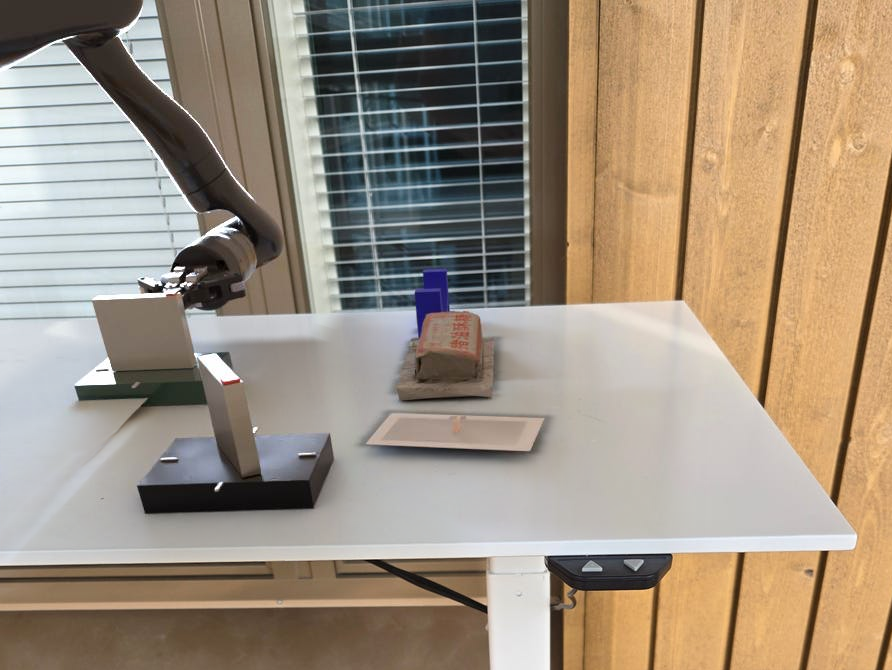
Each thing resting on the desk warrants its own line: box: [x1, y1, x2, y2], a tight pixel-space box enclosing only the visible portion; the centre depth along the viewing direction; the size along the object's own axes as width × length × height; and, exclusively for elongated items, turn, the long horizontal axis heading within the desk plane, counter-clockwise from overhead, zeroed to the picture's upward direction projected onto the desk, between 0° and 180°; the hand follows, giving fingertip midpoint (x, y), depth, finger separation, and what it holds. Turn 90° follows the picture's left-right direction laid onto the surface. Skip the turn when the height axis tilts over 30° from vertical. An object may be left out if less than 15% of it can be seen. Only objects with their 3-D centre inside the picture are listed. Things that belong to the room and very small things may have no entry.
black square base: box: [136, 426, 335, 514], centre depth 75 cm, size 14×13×3 cm
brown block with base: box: [395, 310, 495, 401], centre depth 97 cm, size 18×5×10 cm
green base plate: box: [73, 351, 235, 407], centre depth 97 cm, size 14×13×3 cm
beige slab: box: [91, 291, 197, 371], centre depth 95 cm, size 9×2×8 cm, turn 88°
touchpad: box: [365, 412, 545, 452], centre depth 81 cm, size 8×15×2 cm, turn 77°
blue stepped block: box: [414, 268, 456, 338], centre depth 111 cm, size 12×4×6 cm, turn 178°
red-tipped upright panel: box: [197, 352, 261, 478], centre depth 72 cm, size 9×2×8 cm, turn 27°
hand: (168, 306), depth 96 cm, fingers closed
